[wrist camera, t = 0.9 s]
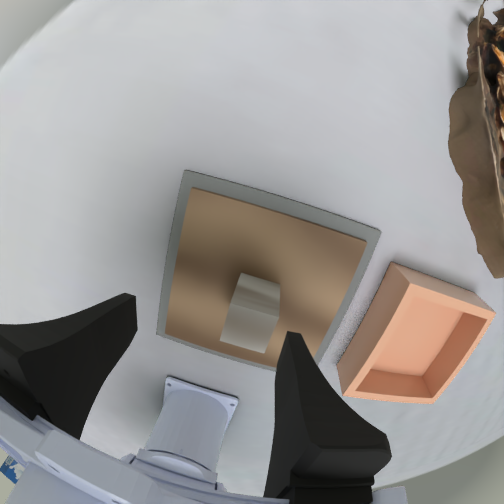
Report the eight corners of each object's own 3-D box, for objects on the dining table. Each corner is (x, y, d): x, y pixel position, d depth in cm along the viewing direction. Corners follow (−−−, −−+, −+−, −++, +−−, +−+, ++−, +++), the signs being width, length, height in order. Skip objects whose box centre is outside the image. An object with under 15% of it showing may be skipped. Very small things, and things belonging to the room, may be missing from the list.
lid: (303, 369, 24) (305, 411, 19) (167, 329, 24) (144, 365, 19) (365, 240, 19) (388, 266, 14) (193, 186, 19) (165, 197, 15)
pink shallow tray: (421, 378, 24) (432, 403, 20) (336, 365, 24) (342, 395, 20) (474, 293, 20) (496, 313, 16) (390, 261, 20) (410, 283, 16)
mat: (309, 375, 25) (309, 379, 24) (158, 331, 25) (156, 334, 24) (379, 230, 19) (381, 232, 19) (186, 169, 19) (184, 170, 19)
